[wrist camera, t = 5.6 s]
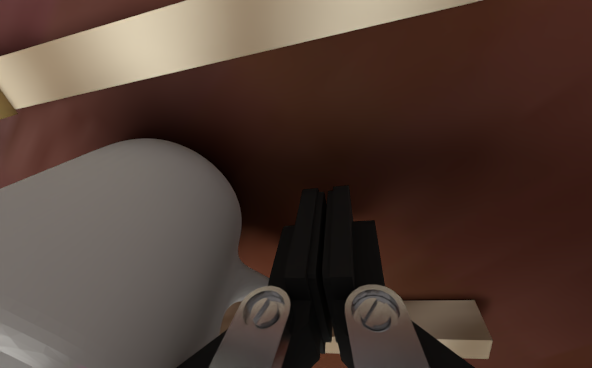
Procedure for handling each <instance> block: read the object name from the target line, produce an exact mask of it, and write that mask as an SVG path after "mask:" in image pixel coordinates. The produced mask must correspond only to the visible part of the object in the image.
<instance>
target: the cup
mask: <svg viewBox="0 0 592 368" xmlns="http://www.w3.org/2000/svg"><path fill="white" fill-rule="evenodd" d="M241 226H242V218H241V210H240V206H239V202H238V199H237V197H236V194H235V192H234V190H233V189H232V187H231V185H230V183H229V182H228V181H227V179H226V178H225V177H224V175H223V174H222V173H221V172H220V171H219V170H218V169H217V168H216V167H215V166H214V165H213V164H212V163H211V162H209V161H208V160H207V159H206V158H204V157H203V156H201V155H200V154H198V153H196V152H195V151H193V150H191V149H189V148H187V147H184V146H182V145H180V144H177V143H173V142H170V141H166V140H161V139H151V138H140V139H131V140H126V141H121V142H117V143H114V144H110V145H108V146H105V147H102V148H100V149H97V150H95V151H92V152H90V153H87V154H85V155H82V156H80V157H77V158H75V159H72V160H70V161H68V162H65V163H63V164H60V165H58V166H55V167H53V168H50V169H48V170H45V171H43V172H41V173H38V174H36V175H33V176H31V177H28V178H26V179H23V180H21V181H19V182H16V183H14V184H11V185H9V186H6V187H4V188H1V189H0V368H176V367H178V366H179V365H180V364H182V363H183V362H184V361H186V360H187V359H188V358H190V357H191V356H192V355H194V354H195V353H196V352H198V351H199V350H200V349H202V348H203V347H204V346H206V345H207V344H208V343H210V342H211V341H212V340H214V339H215V338H216V337H218V336H219V334H220V328H221V324H222V320H223V317H224V314H225V312H226V310H227V309H228V308H229V307H230V306H231V305H232V304H234V303H236V302H239V301H243V299H244V298H245V297H246V296H247V295H248V294H249V293H251V292H252V291H254V290H256V289H257V288H261V287H264V286H268V282H269V278H268V277H266V276H264V275H263V274H261V273H259V272H257V271H255V270H253V269H251V268H249V267H248V266H246V265H245V264H244V263H243V262H242V261H241V260H240V258H239V256H238V245H239V240H240V235H241Z"/></svg>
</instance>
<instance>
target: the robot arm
mask: <svg viewBox="0 0 592 368" xmlns="http://www.w3.org/2000/svg"><path fill="white" fill-rule="evenodd" d="M332 327H333V331H334V336H335V340H336V343H338V346H339V351H340V356H341V360H342V362H343V363H344V364H345V365H346V366H347V367H348V368H474V367H473V366H472V365H470V364H469V363H468V362H466V361H465V360H464V359H462V358H461V357H460V356H458V355H457V354H456V353H454V352H453V351H452V350H450V349H449V348H448V347H446V346H445V345H444V344H442V343H441V342H440V341H438V340H437V339H436V338H434V337H433V336H432V335H430V334H429V333H428V332H426V331H425V330H424V329H422V328H421V327H420V326H418V325H417V324H416V323H414V322H413V321H412V320H411V319H410V316H409V314H408V311H407V308H406V306H405V304H404V302H403V301H402V299H401V297H400V296H399V295H397V294H396V293H395V292H394V291H393V290H391V289H389V288H387V287H385V284H384V277H383V271H382V265H381V258H380V252H379V246H378V239H377V233H376V226H375V221H374V220H371V221H355V222H353V216H352V207H351V199H350V190H349V185H347V186H336V187H333V191H328V196H327V204H326V198H325V193H324V192H319V190H318V188H314V189H303V191H302V195H301V199H300V204H299V209H298V213H297V218H296V223H295V225H292V226H284V227H283V230H282V233H281V237H280V241H279V244H278V248H277V252H276V256H275V259H274V263H273V267H272V271H271V274H270V278H269V282H268V286H264V287H261V288H257V289H256V290H254V291H252V292H251V293H249V294H248V295H247V296H246V297H245V298H244V299H243V301H242V302H241V304H240V306H239V308H238V310H237V312H236V314H235V316H234V318H233V320H232V322H231V324H230V326H229V328H228V329H227V330H225V331H224V332H223V333H221V334H220V335H219V336H218V337H216V338H215V339H214V340H212V341H211V342H210V343H208V344H207V345H206V346H204V347H203V348H202V349H200V350H199V351H198V352H196V353H195V354H194V355H192V356H191V357H190V358H188V359H187V360H186V361H184V362H183V363H182V364H180V365H179V366H178V367H176V368H311V367H312V366H313V365H314V364H315V363H316V362H317V361H318V360H319V359H320V353H321V354H325V345H326V342H330V343H331V342H332Z"/></svg>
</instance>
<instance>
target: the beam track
mask: <svg viewBox="0 0 592 368" xmlns="http://www.w3.org/2000/svg"><path fill="white" fill-rule="evenodd" d="M477 1H482V0H186V1H183V2H180V3H176V4H173V5H170V6H166V7H163V8H160V9H157V10H153V11H150V12H147V13H143V14H140V15H137V16H133V17H130V18H127V19H123V20H120V21H117V22H113V23H110V24H107V25H103V26H100V27H97V28H93V29H90V30H87V31H83V32H80V33H77V34H73V35H70V36H67V37H63V38H60V39H57V40H53V41H50V42H47V43H43V44H40V45H37V46H33V47H30V48H27V49H23V50H20V51H17V52H13V53H10V54H7V55H4V56H0V119H3V118H6V117H10V116H13V115H16V114H18V113H17V112H16V110H15V109H19V108H24V107H28V106H32V105H36V104H41V103H45V102H49V101H54V100H58V99H62V98H66V97H71V96H75V95H79V94H84V93H88V92H92V91H96V90H101V89H105V88H109V87H113V86H118V85H122V84H126V83H131V82H135V81H139V80H143V79H148V78H152V77H156V76H161V75H165V74H169V73H173V72H178V71H182V70H186V69H191V68H195V67H199V66H203V65H208V64H212V63H216V62H221V61H225V60H229V59H233V58H238V57H242V56H246V55H251V54H255V53H259V52H263V51H268V50H272V49H276V48H280V47H285V46H289V45H293V44H298V43H302V42H306V41H310V40H315V39H319V38H323V37H328V36H332V35H336V34H340V33H345V32H349V31H353V30H358V29H362V28H366V27H370V26H375V25H379V24H383V23H388V22H392V21H396V20H400V19H405V18H409V17H413V16H418V15H422V14H426V13H430V12H435V11H439V10H443V9H447V8H452V7H456V6H460V5H465V4H469V3H473V2H477ZM403 302H404V304H405V306H406V308H407V311H408V314H409V316H410V319H411V320H412V321H413V322H414V323H416V324H417V325H418V326H420V327H421V328H422V329H424V330H425V331H426V332H428V333H429V334H430V335H432V336H433V337H434V338H436V339H437V340H438V341H440V342H441V343H442V344H444V345H445V346H446V347H448V348H449V349H450V350H452V351H453V352H454V353H456V354H457V355H458V356H460V357H461V358H475V359H488V358H489V354H490V350H491V345H492V341H493V340H492V338H491V336H490V333H489V331H488V329H487V327H486V325H485V322H484V320H483V318H482V316H481V314H480V311H479V309H478V307H477V305H476V303H475V300H423V301H403ZM240 304H241V302H236V303H234V304H232V305H231V306H230V307H229V308H228V309H227V310H226V312H225V314H224V317H223V320H222V324H221V328H220V334H221V333H223V332H224V331H225V330H227V329H228V328H229V326H230V324H231V322H232V320H233V318H234V316H235V314H236V312H237V310H238V308H239V306H240ZM220 334H219V335H220ZM325 353H340V351H339V346H338V343H336V340H335V336H334V331H333V327H332V342H331V343H330V342H326V345H325Z"/></svg>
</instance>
